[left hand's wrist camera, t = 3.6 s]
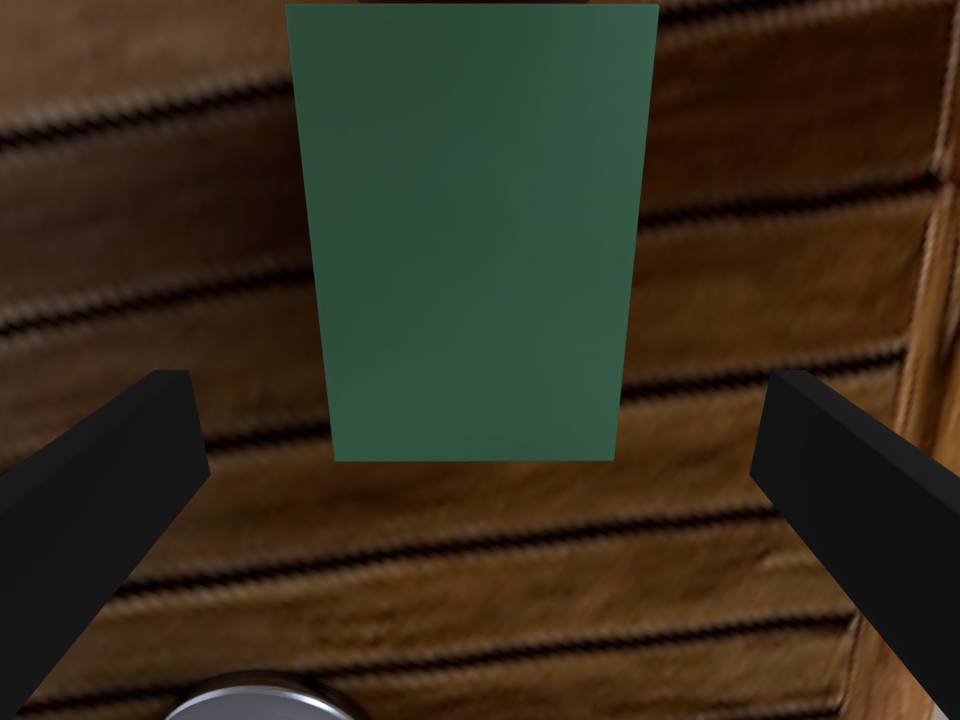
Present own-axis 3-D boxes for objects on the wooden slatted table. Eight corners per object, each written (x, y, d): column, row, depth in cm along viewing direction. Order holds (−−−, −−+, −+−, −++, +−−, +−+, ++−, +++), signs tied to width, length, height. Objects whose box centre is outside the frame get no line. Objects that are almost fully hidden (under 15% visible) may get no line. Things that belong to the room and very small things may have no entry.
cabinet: (358, 59, 23) (282, 2, 14) (589, 59, 23) (661, 2, 14) (379, 361, 28) (333, 463, 19) (570, 361, 28) (614, 462, 19)
